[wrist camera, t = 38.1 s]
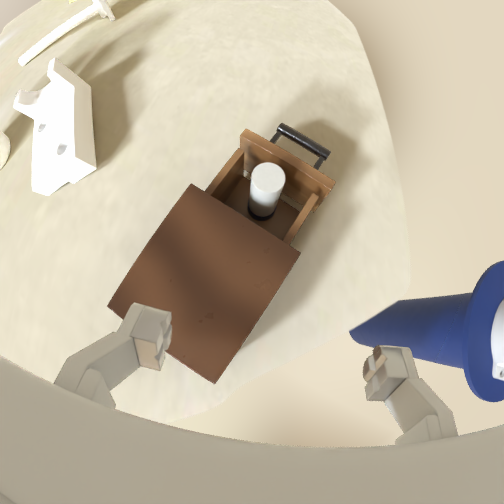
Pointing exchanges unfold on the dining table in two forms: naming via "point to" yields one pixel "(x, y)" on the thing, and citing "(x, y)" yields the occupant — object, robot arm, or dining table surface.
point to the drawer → (296, 183)
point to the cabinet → (206, 279)
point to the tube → (265, 190)
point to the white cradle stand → (59, 129)
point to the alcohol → (4, 149)
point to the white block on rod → (68, 28)
